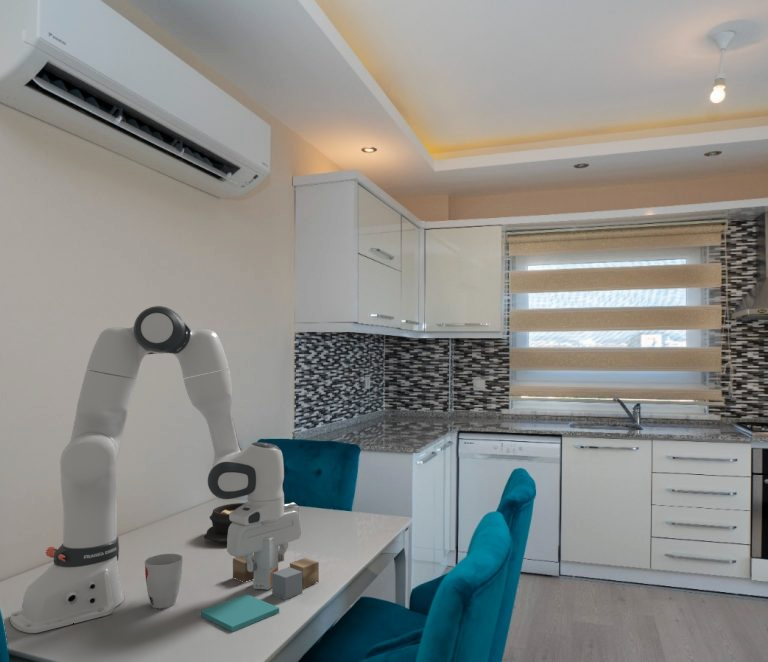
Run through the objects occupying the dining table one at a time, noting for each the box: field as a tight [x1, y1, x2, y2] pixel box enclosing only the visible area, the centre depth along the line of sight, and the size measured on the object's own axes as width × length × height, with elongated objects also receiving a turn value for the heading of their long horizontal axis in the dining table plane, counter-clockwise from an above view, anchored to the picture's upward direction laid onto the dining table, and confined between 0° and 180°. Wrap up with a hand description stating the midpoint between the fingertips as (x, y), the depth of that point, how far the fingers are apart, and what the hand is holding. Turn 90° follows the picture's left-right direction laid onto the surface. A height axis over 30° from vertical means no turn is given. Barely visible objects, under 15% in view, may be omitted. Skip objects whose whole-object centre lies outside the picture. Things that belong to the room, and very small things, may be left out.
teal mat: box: [199, 593, 280, 633], centre depth 130 cm, size 12×12×1 cm
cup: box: [144, 553, 184, 610], centre depth 136 cm, size 8×8×10 cm
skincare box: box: [253, 536, 279, 591], centre depth 147 cm, size 6×4×12 cm
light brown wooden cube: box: [289, 557, 320, 589], centre depth 148 cm, size 5×5×5 cm
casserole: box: [203, 502, 245, 543], centre depth 189 cm, size 25×19×8 cm
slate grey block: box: [271, 566, 303, 600], centre depth 141 cm, size 5×5×5 cm
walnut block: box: [232, 554, 254, 583], centre depth 152 cm, size 5×5×5 cm
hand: (266, 566), depth 147 cm, fingers closed on skincare box, 7 cm apart
